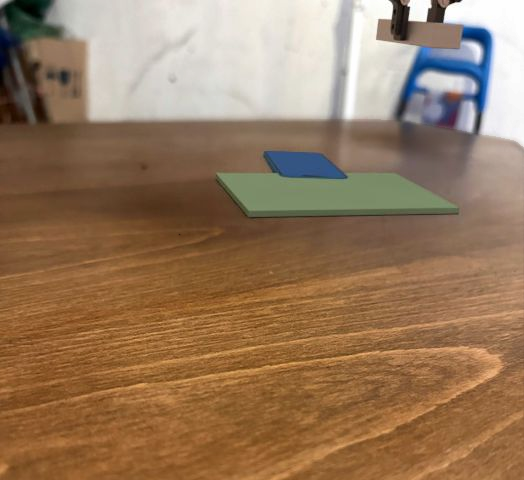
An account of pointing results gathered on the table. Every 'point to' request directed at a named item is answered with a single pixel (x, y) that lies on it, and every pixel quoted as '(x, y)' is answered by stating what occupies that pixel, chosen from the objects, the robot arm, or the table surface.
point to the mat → (331, 195)
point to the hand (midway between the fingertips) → (414, 40)
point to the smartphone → (302, 165)
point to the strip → (424, 34)
